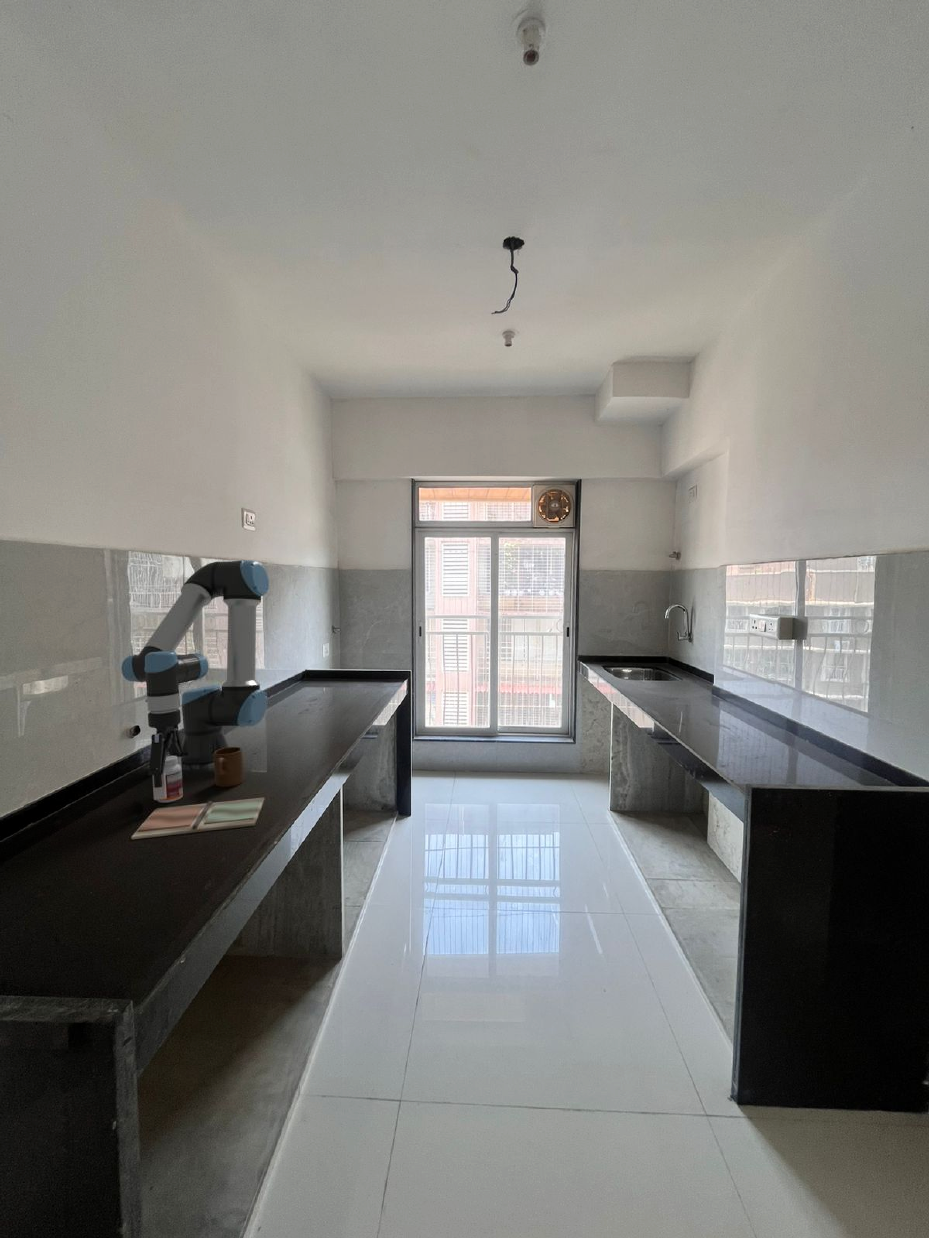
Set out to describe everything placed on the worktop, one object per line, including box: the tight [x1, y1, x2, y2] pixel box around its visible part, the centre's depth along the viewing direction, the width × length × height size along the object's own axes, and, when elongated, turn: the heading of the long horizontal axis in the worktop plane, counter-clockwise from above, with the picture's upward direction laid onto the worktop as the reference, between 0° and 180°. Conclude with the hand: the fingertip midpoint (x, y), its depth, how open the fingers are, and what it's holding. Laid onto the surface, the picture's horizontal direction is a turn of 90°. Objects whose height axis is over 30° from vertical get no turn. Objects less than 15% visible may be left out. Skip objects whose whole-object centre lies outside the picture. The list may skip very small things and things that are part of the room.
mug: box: [213, 746, 245, 788], centre depth 156 cm, size 12×8×9 cm, turn 3°
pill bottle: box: [156, 755, 184, 804], centre depth 147 cm, size 6×6×11 cm
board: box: [131, 797, 265, 840], centre depth 134 cm, size 16×26×1 cm, turn 102°
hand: (168, 789), depth 147 cm, fingers open, 13 cm apart
